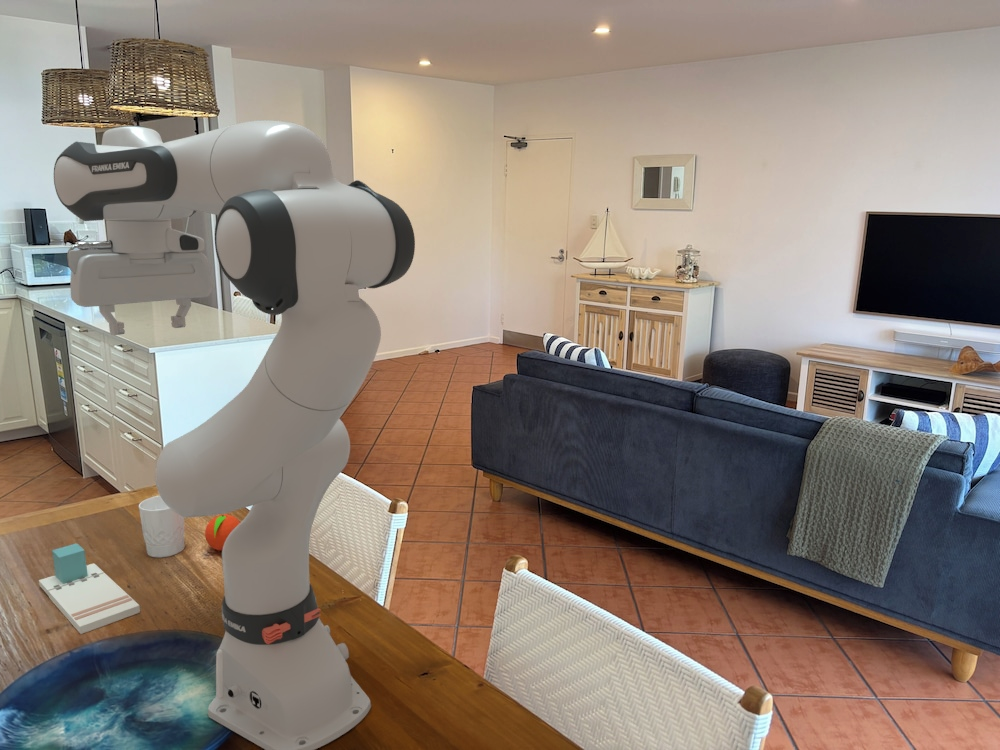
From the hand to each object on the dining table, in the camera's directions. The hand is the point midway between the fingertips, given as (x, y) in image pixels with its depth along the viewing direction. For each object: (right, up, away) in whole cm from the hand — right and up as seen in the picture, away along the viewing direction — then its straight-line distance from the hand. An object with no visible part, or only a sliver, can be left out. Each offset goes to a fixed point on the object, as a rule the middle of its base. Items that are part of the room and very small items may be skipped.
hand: (149, 330), depth 114 cm
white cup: (-11, -41, +30) cm, 52 cm away
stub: (-22, -44, +17) cm, 52 cm away
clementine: (0, -41, +30) cm, 51 cm away
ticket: (-14, -46, +10) cm, 49 cm away
